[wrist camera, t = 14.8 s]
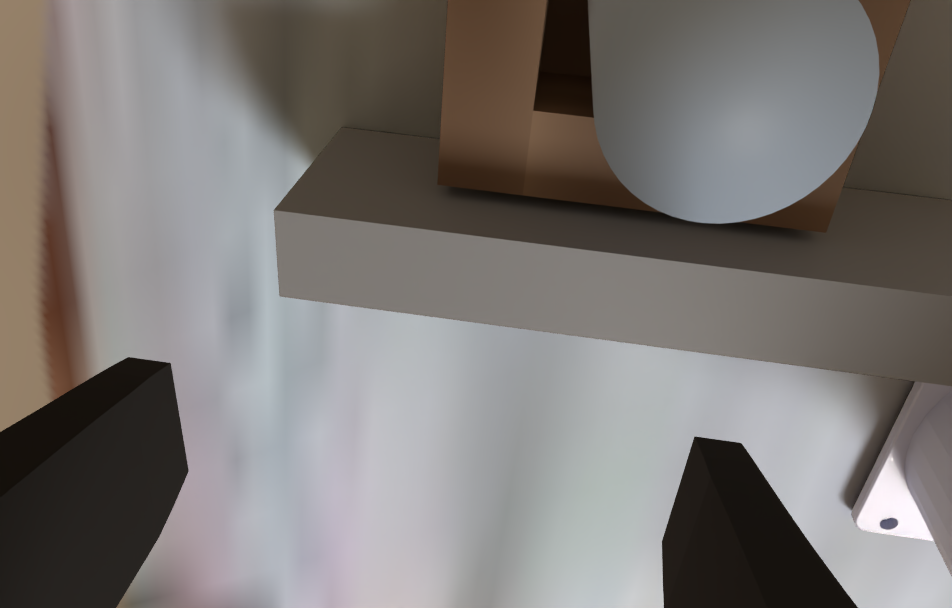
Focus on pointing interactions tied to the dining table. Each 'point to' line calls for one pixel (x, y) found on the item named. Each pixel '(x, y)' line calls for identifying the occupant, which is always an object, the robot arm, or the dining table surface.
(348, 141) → the block
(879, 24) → the socket block
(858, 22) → the dowel
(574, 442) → the dining table surface
